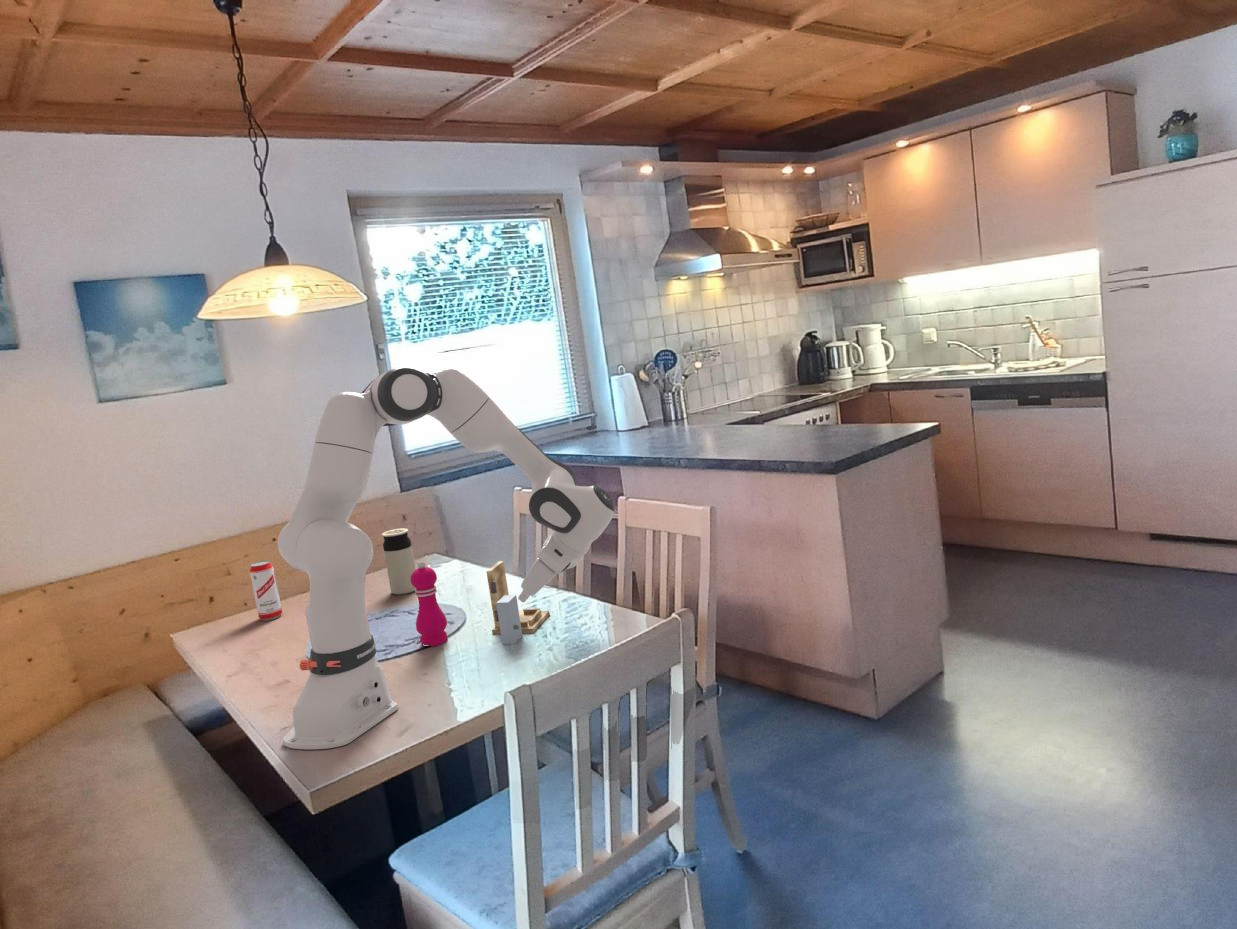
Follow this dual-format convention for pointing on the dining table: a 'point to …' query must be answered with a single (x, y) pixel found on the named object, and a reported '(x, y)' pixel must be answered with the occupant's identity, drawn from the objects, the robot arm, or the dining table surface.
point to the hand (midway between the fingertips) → (528, 592)
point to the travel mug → (399, 560)
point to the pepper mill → (428, 607)
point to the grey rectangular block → (509, 619)
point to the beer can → (265, 590)
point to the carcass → (499, 588)
